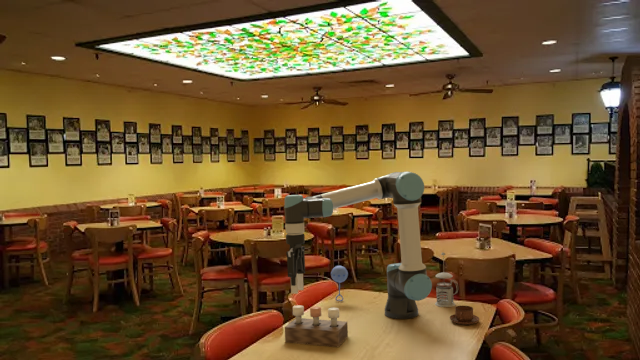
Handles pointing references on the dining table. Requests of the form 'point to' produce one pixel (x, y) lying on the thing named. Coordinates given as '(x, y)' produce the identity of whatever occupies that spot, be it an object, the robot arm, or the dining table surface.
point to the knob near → (333, 316)
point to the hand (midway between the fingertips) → (297, 291)
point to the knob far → (298, 313)
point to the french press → (445, 290)
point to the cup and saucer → (464, 315)
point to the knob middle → (315, 314)
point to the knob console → (316, 333)
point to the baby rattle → (339, 277)
